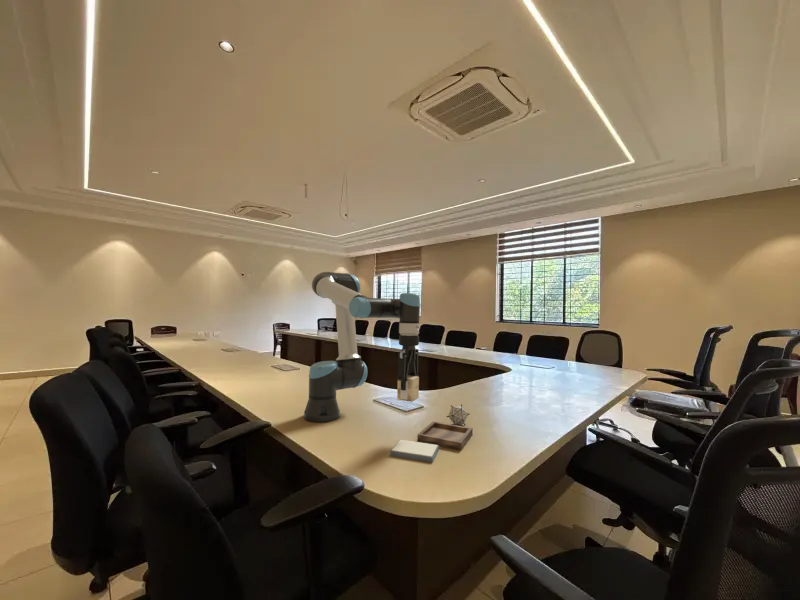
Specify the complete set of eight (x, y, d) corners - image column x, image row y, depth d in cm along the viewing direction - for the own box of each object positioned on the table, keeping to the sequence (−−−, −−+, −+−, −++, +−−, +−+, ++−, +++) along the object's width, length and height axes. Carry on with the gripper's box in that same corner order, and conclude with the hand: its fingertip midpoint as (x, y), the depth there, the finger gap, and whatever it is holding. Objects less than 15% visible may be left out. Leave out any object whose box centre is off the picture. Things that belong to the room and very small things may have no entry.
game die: (461, 435, 137) (469, 420, 131) (442, 426, 138) (449, 411, 133) (466, 419, 144) (473, 404, 138) (447, 410, 145) (454, 395, 140)
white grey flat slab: (390, 455, 108) (390, 450, 108) (399, 443, 118) (399, 438, 118) (432, 462, 104) (432, 456, 104) (438, 449, 113) (439, 444, 113)
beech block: (397, 399, 123) (397, 377, 123) (404, 395, 128) (404, 374, 129) (412, 401, 120) (412, 379, 121) (418, 397, 126) (418, 376, 126)
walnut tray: (417, 441, 120) (417, 434, 120) (432, 427, 134) (433, 421, 134) (461, 450, 113) (461, 442, 113) (472, 434, 127) (472, 428, 127)
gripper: (407, 336, 115) (406, 404, 114) (427, 333, 132) (426, 392, 131) (388, 335, 118) (386, 401, 118) (410, 332, 135) (409, 390, 135)
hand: (407, 396), depth 124 cm, fingers closed on beech block, 6 cm apart
